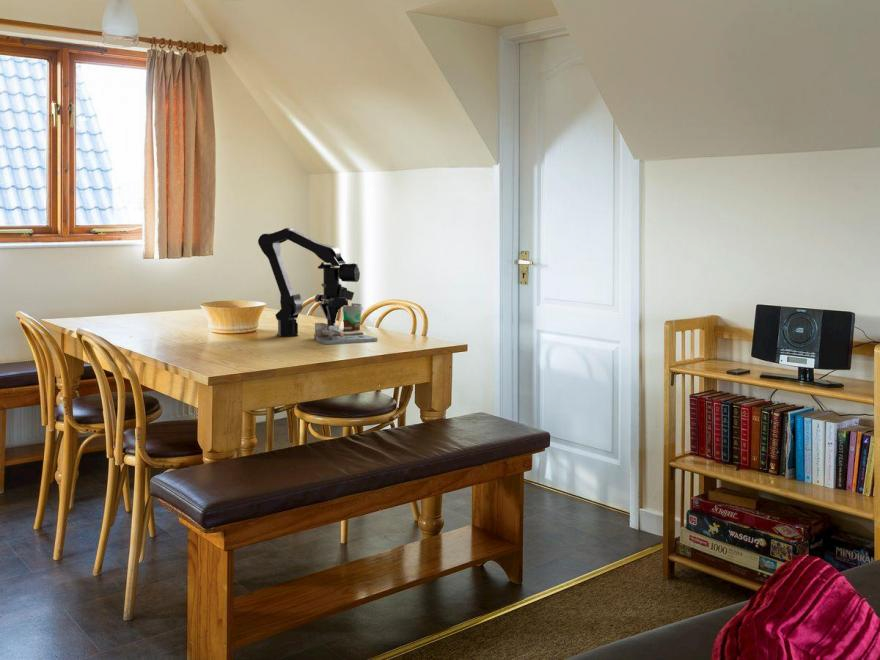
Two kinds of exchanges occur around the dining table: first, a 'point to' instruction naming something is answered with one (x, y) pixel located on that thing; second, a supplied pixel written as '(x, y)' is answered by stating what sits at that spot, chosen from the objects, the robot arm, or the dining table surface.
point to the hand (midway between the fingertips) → (331, 323)
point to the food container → (352, 317)
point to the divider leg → (333, 327)
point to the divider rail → (322, 331)
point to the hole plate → (346, 339)
